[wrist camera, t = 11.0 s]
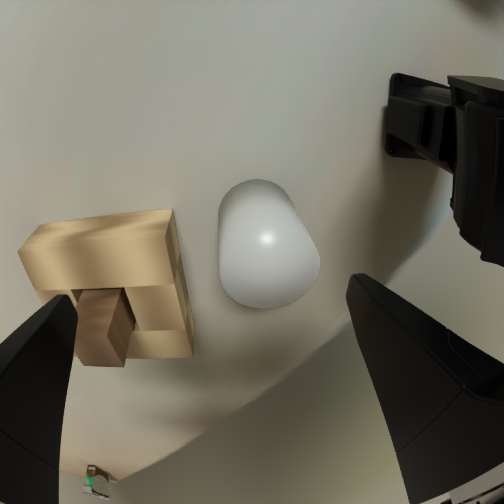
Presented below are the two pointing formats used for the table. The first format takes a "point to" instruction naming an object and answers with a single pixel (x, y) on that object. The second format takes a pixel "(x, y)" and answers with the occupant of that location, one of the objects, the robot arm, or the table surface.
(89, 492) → the food container
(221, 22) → the table surface
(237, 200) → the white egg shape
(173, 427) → the table surface
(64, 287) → the socket block
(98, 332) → the square peg
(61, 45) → the table surface
